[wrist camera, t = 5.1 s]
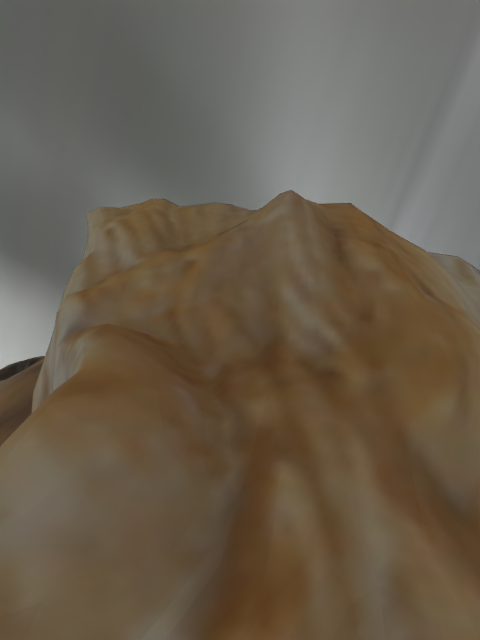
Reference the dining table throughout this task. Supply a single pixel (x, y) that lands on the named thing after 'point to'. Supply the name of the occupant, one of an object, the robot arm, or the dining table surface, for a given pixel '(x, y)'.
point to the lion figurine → (246, 435)
